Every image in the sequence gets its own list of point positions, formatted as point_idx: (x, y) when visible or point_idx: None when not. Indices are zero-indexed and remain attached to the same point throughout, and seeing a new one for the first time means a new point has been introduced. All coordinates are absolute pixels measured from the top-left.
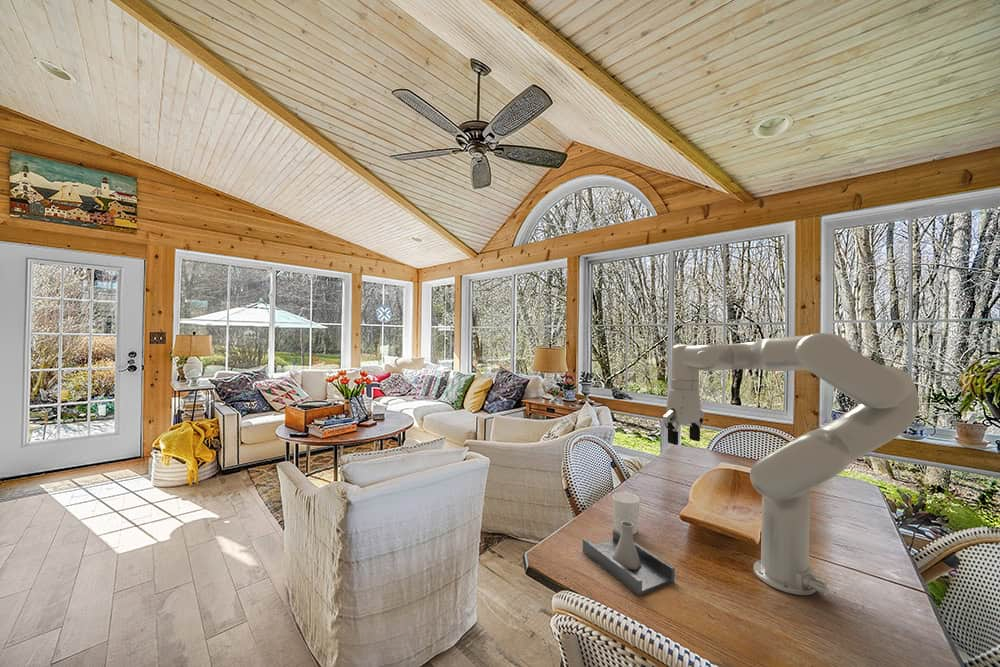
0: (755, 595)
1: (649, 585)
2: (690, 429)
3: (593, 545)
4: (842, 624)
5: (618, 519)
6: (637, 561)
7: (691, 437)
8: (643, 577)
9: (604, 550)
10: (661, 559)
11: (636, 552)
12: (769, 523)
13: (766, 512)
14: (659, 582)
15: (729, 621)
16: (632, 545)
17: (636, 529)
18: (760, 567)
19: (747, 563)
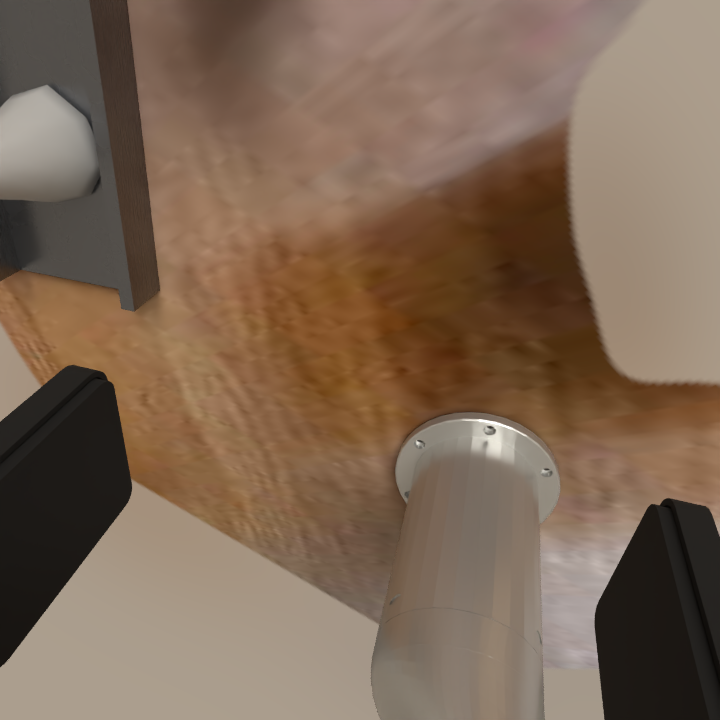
0: (320, 442)
1: (55, 269)
2: (686, 710)
3: None
4: (388, 566)
5: None
6: (59, 198)
7: (644, 558)
8: (61, 236)
9: (11, 28)
10: (125, 261)
11: (45, 196)
12: (385, 608)
13: (383, 636)
14: (93, 279)
15: (171, 429)
16: (5, 198)
17: None
18: (454, 436)
19: (478, 389)
